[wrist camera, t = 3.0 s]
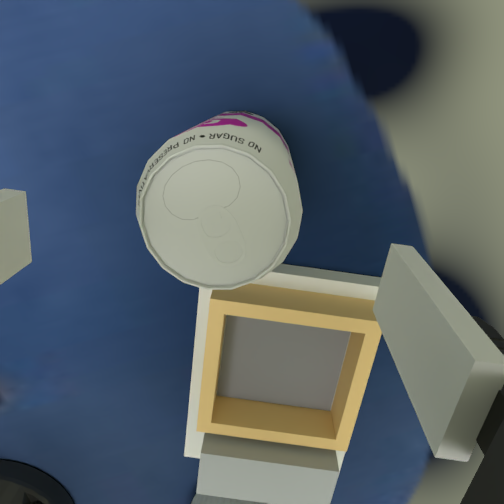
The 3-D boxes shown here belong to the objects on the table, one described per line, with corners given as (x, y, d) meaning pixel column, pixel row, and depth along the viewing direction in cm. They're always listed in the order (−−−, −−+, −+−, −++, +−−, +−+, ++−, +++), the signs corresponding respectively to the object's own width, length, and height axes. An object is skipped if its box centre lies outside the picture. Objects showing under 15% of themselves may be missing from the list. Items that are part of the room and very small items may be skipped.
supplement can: (170, 135, 32) (92, 173, 18) (268, 92, 30) (265, 98, 17) (213, 227, 35) (173, 321, 21) (305, 192, 33) (328, 268, 19)
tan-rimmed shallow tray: (335, 460, 44) (346, 525, 37) (187, 440, 44) (173, 502, 37) (387, 278, 36) (412, 320, 29) (205, 253, 36) (190, 290, 29)
